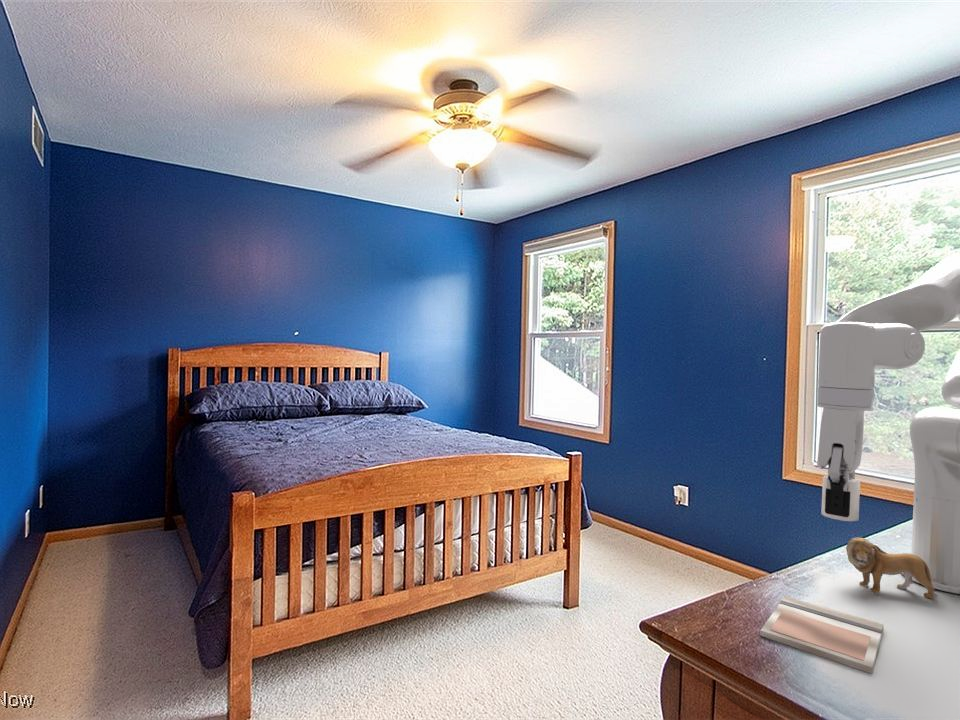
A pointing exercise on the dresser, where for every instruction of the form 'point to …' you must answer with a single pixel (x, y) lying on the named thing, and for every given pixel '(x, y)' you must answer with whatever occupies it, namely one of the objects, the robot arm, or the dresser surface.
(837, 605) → the dresser surface
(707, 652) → the dresser surface
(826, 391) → the robot arm
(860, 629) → the board
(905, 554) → the lion figurine
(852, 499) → the white rounded cylinder
